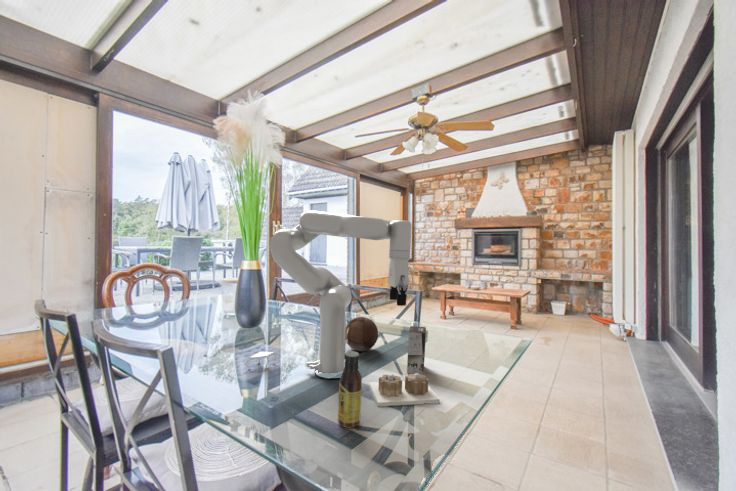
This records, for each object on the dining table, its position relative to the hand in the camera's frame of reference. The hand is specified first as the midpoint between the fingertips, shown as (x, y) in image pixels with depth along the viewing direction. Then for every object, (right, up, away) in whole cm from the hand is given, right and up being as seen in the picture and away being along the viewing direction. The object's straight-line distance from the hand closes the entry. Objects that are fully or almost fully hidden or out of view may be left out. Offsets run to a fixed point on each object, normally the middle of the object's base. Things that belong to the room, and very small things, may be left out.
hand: (397, 302), depth 123 cm
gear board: (+1, -29, -10) cm, 30 cm away
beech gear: (-3, -28, -11) cm, 30 cm away
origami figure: (-52, -26, +8) cm, 59 cm away
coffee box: (+8, -28, +11) cm, 32 cm away
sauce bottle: (-16, -29, -28) cm, 43 cm away
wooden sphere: (-14, -27, +30) cm, 43 cm away
